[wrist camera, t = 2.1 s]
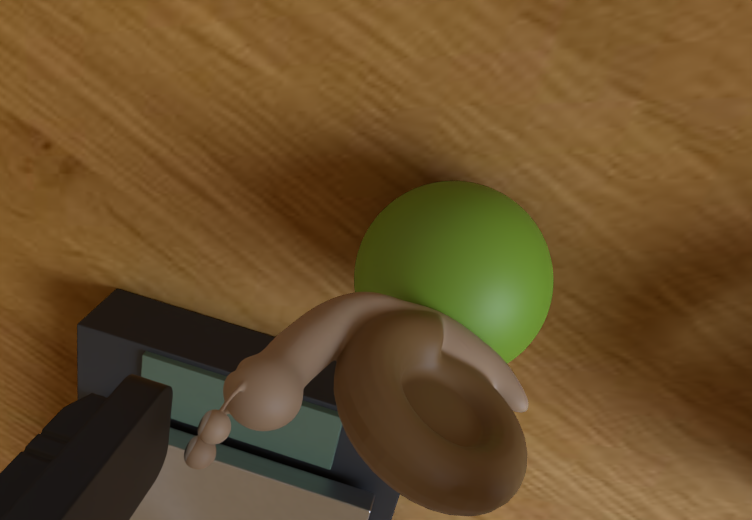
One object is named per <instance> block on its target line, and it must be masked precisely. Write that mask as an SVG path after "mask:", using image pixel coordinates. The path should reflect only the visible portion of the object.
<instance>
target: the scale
mask: <svg viewBox="0 0 752 520" xmlns="http://www.w3.org/2000/svg"><path fill="white" fill-rule="evenodd" d="M274 338H275V337H272V336H269V335H265V334H262V333H259V332H256V331H252V330H249V329H246V328H243V327H240V326H236V325H233V324H230V323H227V322H223V321H220V320H217V319H214V318H211V317H207V316H204V315H201V314H198V313H194V312H191V311H188V310H185V309H181V308H178V307H175V306H172V305H169V304H165V303H162V302H159V301H156V300H152V299H149V298H146V297H143V296H139V295H136V294H133V293H130V292H127V291H123V290H120V289H116V290H114V291H113V292H112V293H111V294H110V295H109V296H108V297H107V298H106V299H105V300H103V301H102V302H101V303H100V304H99V305H98V306H97V307H96V308H95V309H94V310H92V311H91V312H90V313H89V314H88V315H87V316H86V317H85V318H84V319H83V320H81V321H80V322H79V323H78V324H77V366H78V400H79V399H81V398H83V397H85V396H87V395H89V394H90V393H94V394H97V395H100V396H103V397H106V398H108V396H109V395H110V394H111V393H112V392H113V391H114V390H115V389H116V387H117V386H118V385H119V384H120V383H121V382H122V381H123V380H124V379H125V378H126V377H127V376H128V375H130V374H134V375H137V376H140V377H143V378H147V379H150V380H153V381H156V382H159V383H162V384H165V385H168V386H171V387H172V390H173V399H172V410H171V421H170V427H171V428H174V429H177V430H180V431H183V432H186V433H189V434H192V435H195V436H197V435H198V425H199V423H200V421H201V419H202V417H203V416H204V415H205V414H206V413H207V412H208V411H210V410H220V408H221V406H222V405H223V403H224V402H225V401H224V396H223V386H224V382H225V379H226V378H227V376H228V375H229V374H230V373H232V372H234V371H236V369H237V367H238V365H239V364H240V362H241V361H242V360H244V359H245V358H247V357H250V356H253V355H256V354H258V353H260V352H261V351H263V350H264V349H265V348H266V347H267V346H268V345H269V343H270V342H271V341H272V340H273V339H274ZM336 363H337V362H336V360H334V361H332V362H331V363H330V364H329V365H328V366H327V367H325V368H324V369H323V370H322V371H321V372H320V373H319V374H318V375H316V376H315V377H314V378H313V379H312V380H311V381H310V382H309V383H308V384H307V385H306V386H305V387H304V390H303V400H302V405H301V408H300V410H299V412H298V414H297V415H296V416H295V418H294V419H293V420H292V421H291V422H289V423H288V424H287V425H285V426H283V427H281V428H279V429H276V430H271V431H256V430H252V429H249V428H246V427H244V426H243V425H241V424H240V423H238V422H237V421H236V420H235V419H234V418H233V417H232V415H230V414H227V416H228V417H229V419H230V421H231V431H230V434H229V436H228V437H227V438H226V439H225V440H224V441H223V442H221V443H220V444H223V445H226V446H229V447H232V448H235V449H238V450H241V451H245V452H248V453H251V454H254V455H257V456H260V457H263V458H266V459H269V460H272V461H275V462H278V463H281V464H285V465H288V466H291V467H294V468H297V469H300V470H303V471H306V472H309V473H312V474H315V475H318V476H321V477H325V478H328V479H331V480H334V481H337V482H340V483H343V484H346V485H349V486H352V487H355V488H358V489H361V490H365V491H368V492H371V493H374V494H375V498H374V502H373V505H372V509H371V512H370V516H369V519H368V520H391V519H392V516H393V513H394V510H395V507H396V504H397V501H398V498H399V495H400V493H398V492H396V491H395V490H394V489H392V488H391V487H389V486H388V485H387V484H386V483H385V482H384V481H383V480H382V479H381V478H379V477H378V476H377V475H376V474H375V473H374V472H373V471H372V470H371V469H370V467H369V466H368V465H367V464H366V463H365V462H364V460H363V459H362V458H361V457H360V456H359V454H358V453H357V451H356V450H355V448H354V446H353V445H352V443H351V441H350V440H349V438H348V436H347V435H346V432H345V430H344V427H343V425H342V423H341V420H340V418H339V415H338V411H337V406H336V401H335V396H334V373H335V367H336Z"/></svg>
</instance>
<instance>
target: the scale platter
mask: <svg viewBox="0 0 752 520" xmlns="http://www.w3.org/2000/svg"><path fill="white" fill-rule="evenodd" d="M194 436H195V435H192V434H189V433H186V432H183V431H180V430H177V429H174V428H171V427H170V432H169V443H168V450H167V455H166V458H165V461H164V464H163V466H162V469H161V471H160V473H159V475H158V477H157V479H156V481H155V482H154V484H153V485H152V487H151V488H150V490H149V491H148V493H147V494H146V496H145V497H144V499H143V500H142V502H141V503H140V505H139V506H138V508H137V509H136V511H135V512H134V514H133V515H132V517H131V518H130V520H368V519H369V516H370V512H371V509H372V505H373V502H374V498H375V494H374V493H371V492H368V491H365V490H361V489H358V488H355V487H352V486H349V485H346V484H343V483H340V482H337V481H334V480H331V479H328V478H325V477H321V476H318V475H315V474H312V473H309V472H306V471H303V470H300V469H297V468H294V467H291V466H288V465H285V464H281V463H278V462H275V461H272V460H269V459H266V458H263V457H260V456H257V455H254V454H251V453H248V452H245V451H241V450H238V449H235V448H232V447H229V446H226V445H223V444H220V443H219V444H215V445H216V457H215V459H214V461H213V462H212V463H211V464H210V465H209V466H208V467H206V468H204V469H193V468H190V467H189V466H188V465H187V464H186V463H185V461H184V451H185V448H186V446H187V444H188V443H189V441H190V440H191V439H192V438H193V437H194Z"/></svg>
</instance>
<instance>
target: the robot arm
mask: <svg viewBox="0 0 752 520" xmlns="http://www.w3.org/2000/svg"><path fill="white" fill-rule="evenodd" d="M172 399H173V390H172V387H171V386H168V385H165V384H162V383H159V382H156V381H153V380H150V379H147V378H143V377H140V376H137V375H134V374H130V375H128V376H127V377H126V378H125V379H124V380H123V381H122V382H121V383H120V384H119V385H118V386H117V387H116V389H115V390H114V391H113V392H112V393H111V394H110V395H109V396H108V398H106V397H103V396H100V395H97V394H94V393H90V394H89V395H87V396H85V397H83V398H81V399H79V400H77V401H75V402H73V403H71V404H70V405H68V406H66V407H64V408H63V409H62V410H61V411H60V412H59V413H58V414H57V415H56V416H55V417H54V418H53V419H52V420H51V421H50V422H49V423H48V424H47V425H46V426H45V427H44V428H43V430H42V433H41V434H38V435H37V436H36V437H35V438H34V439H33V440H32V441H31V442H30V443H29V444H28V445H27V446H26V448H25V450H24V452H20V453H19V454H18V456H17V457H16V458H15V459H14V460H13V461H12V462H11V463H10V464H9V465H8V466H7V467H6V468H5V469H4V470H3V471H2V472H1V473H0V520H130V518H131V517H132V515H133V514H134V512H135V511H136V509H137V508H138V506H139V505H140V503H141V502H142V500H143V499H144V497H145V496H146V494H147V493H148V491H149V490H150V488H151V487H152V485H153V484H154V482H155V481H156V479H157V477H158V475H159V473H160V471H161V469H162V466H163V464H164V461H165V458H166V455H167V450H168V443H169V432H170V421H171V410H172Z"/></svg>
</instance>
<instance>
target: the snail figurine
mask: <svg viewBox="0 0 752 520" xmlns="http://www.w3.org/2000/svg"><path fill="white" fill-rule="evenodd" d="M354 288H355V293H350V294H345V295H342V296H339V297H336V298H333V299H330V300H328V301H326V302H324V303H322V304H320V305H318V306H316V307H314V308H313V309H311V310H310V311H308V312H307V313H305V314H304V315H302V316H301V317H300V318H298V319H297V320H296V321H295V322H293V323H292V324H291V325H289V326H288V327H287V328H286V329H284V330H283V331H282V332H281V333H280V334H279V335H277V336H276V337H275V338H274V339H273V340H272V341H271V342H270V343H269V345H268V346H267V347H266V348H265V349H264V350H263V351H261V352H260V353H258V354H256V355H253V356H250V357H247V358H245V359H244V360H242V361H241V362H240V364H239V365H238V367H237V369H236V371H234V372H232V373H230V374H229V375H228V376H227V378H226V379H225V382H224V386H223V396H224V401H225V402H224V403H223V405H222V406H221V408H220V410H210V411H208V412H207V413H206V414H205V415H204V416H203V417H202V419H201V421H200V423H199V425H198V435H197V436H194V437H193V438H192V439H191V440H190V441H189V443H188V444H187V446H186V448H185V451H184V461H185V463H186V464H187V465H188V466H189V467H190V468H193V469H204V468H206V467H208V466H209V465H210V464H211V463H212V462H213V461H214V459H215V457H216V445H215V444H219V443H221V442H223V441H224V440H225V439H226V438H227V437H228V436H229V434H230V431H231V421H230V419H229V417H228V416H227V414H230V415H232V417H233V418H234V419H235V420H236V421H237V422H238V423H240V424H241V425H243V426H244V427H246V428H249V429H252V430H256V431H271V430H276V429H279V428H281V427H283V426H285V425H287V424H288V423H289V422H291V421H292V420H293V419H294V418H295V416H296V415H297V414H298V412H299V410H300V408H301V405H302V400H303V390H304V387H305V386H306V385H307V384H308V383H309V382H310V381H311V380H312V379H313V378H314V377H315V376H316V375H318V374H319V373H320V372H321V371H322V370H323V369H324V368H325V367H327V366H328V365H329V364H330V363H331V362H332V361H334V360H336V362H337V363H336V367H335V373H334V396H335V401H336V406H337V411H338V415H339V418H340V420H341V423H342V425H343V427H344V430H345V432H346V435H347V436H348V438H349V440H350V441H351V443H352V445H353V446H354V448H355V450H356V451H357V453H358V454H359V456H360V457H361V458H362V459H363V460H364V462H365V463H366V464H367V465H368V466H369V467H370V469H371V470H372V471H373V472H374V473H375V474H376V475H377V476H378V477H379V478H381V479H382V480H383V481H384V482H385V483H386V484H387V485H388V486H389V487H391V488H392V489H394V490H395V491H396V492H398V493H400V494H401V495H402V496H404V497H405V498H407V499H409V500H410V501H412V502H414V503H417V504H419V505H421V506H423V507H425V508H427V509H430V510H433V511H437V512H440V513H444V514H448V515H458V516H476V515H481V514H486V513H489V512H492V511H493V510H495V509H497V508H499V507H501V506H502V505H504V504H506V503H507V502H508V501H509V500H510V499H511V498H512V497H513V496H514V495H515V493H516V492H517V491H518V489H519V488H520V486H521V484H522V481H523V479H524V476H525V473H526V467H527V448H526V442H525V437H524V434H523V431H522V429H521V426H520V424H519V421H518V419H517V418H516V416H515V414H514V412H513V411H515V412H525V411H526V410H527V409H528V399H527V396H526V394H525V392H524V390H523V388H522V386H521V384H520V383H519V381H518V379H517V378H516V376H515V374H514V373H513V371H512V370H511V369H510V367H509V366H508V365H507V363H509V362H510V361H512V360H513V359H515V358H516V357H517V356H518V355H519V354H521V353H522V352H523V351H524V350H525V349H526V348H527V347H528V345H529V344H530V343H531V342H532V341H533V339H534V338H535V337H536V335H537V334H538V332H539V330H540V329H541V327H542V325H543V323H544V321H545V319H546V316H547V314H548V311H549V307H550V304H551V299H552V293H553V267H552V261H551V257H550V253H549V250H548V247H547V244H546V242H545V239H544V237H543V235H542V233H541V231H540V230H539V228H538V227H537V225H536V224H535V222H534V221H533V219H532V218H531V217H530V216H529V215H528V214H527V212H526V211H525V210H524V209H523V208H522V207H520V206H519V205H518V204H517V203H516V202H514V201H513V200H512V199H510V198H509V197H507V196H506V195H504V194H502V193H500V192H498V191H496V190H494V189H492V188H489V187H487V186H484V185H480V184H476V183H472V182H465V181H442V182H435V183H431V184H427V185H423V186H420V187H418V188H415V189H413V190H411V191H408V192H407V193H405V194H403V195H401V196H400V197H398V198H397V199H395V200H394V201H393V202H391V203H390V204H389V205H388V206H387V207H385V208H384V209H383V210H382V211H381V213H380V214H379V215H378V216H377V217H376V218H375V220H374V221H373V222H372V224H371V225H370V227H369V228H368V230H367V232H366V234H365V236H364V238H363V240H362V242H361V245H360V248H359V251H358V254H357V258H356V263H355V271H354Z"/></svg>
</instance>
